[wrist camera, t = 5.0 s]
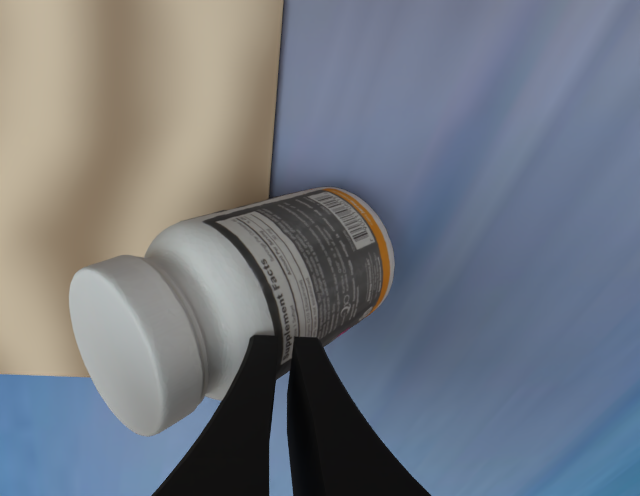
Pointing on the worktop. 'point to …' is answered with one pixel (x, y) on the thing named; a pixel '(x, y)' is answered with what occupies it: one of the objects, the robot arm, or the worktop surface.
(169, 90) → the beige flat rectangular panel
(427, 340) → the worktop surface
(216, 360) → the pill bottle
